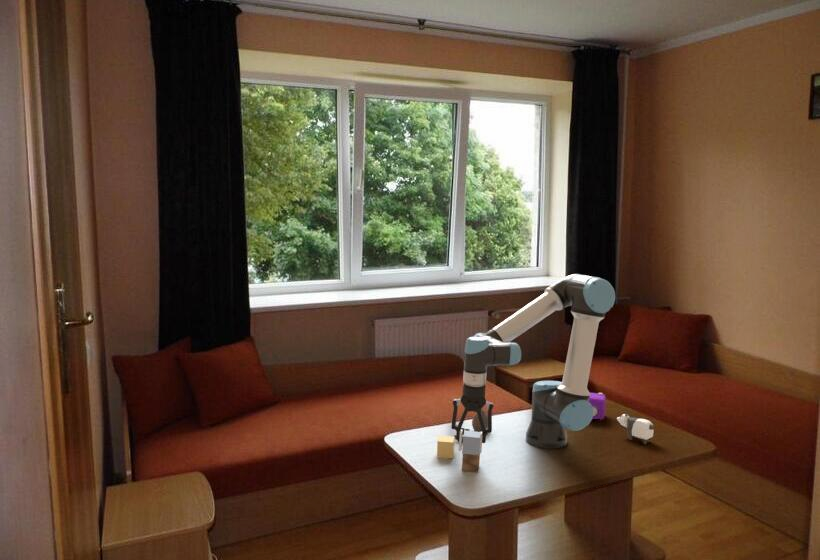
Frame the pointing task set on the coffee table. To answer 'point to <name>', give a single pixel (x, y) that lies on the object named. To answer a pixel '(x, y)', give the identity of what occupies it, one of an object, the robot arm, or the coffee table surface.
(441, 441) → the yellow cube
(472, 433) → the gray brick
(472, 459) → the walnut brick
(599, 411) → the toy camera
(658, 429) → the coffee table surface
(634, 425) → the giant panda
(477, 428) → the vase
